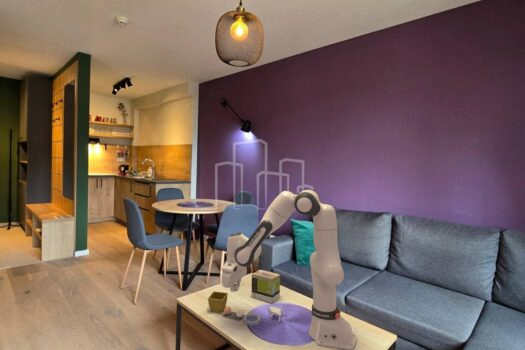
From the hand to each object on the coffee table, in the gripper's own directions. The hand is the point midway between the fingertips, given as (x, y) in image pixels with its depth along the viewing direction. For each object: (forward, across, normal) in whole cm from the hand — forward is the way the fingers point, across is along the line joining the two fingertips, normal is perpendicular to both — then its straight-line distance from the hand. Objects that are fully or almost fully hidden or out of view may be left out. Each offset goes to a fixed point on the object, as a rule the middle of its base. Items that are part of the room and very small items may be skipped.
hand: (235, 289), depth 158 cm
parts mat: (+16, 0, 0) cm, 16 cm away
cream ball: (+14, 0, +4) cm, 15 cm away
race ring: (+16, 0, +10) cm, 19 cm away
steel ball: (+1, 0, 0) cm, 1 cm away
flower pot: (+16, -2, -12) cm, 20 cm away
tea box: (+16, -29, +5) cm, 33 cm away
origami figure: (+16, -10, +19) cm, 27 cm away
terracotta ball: (+15, 0, -5) cm, 15 cm away
